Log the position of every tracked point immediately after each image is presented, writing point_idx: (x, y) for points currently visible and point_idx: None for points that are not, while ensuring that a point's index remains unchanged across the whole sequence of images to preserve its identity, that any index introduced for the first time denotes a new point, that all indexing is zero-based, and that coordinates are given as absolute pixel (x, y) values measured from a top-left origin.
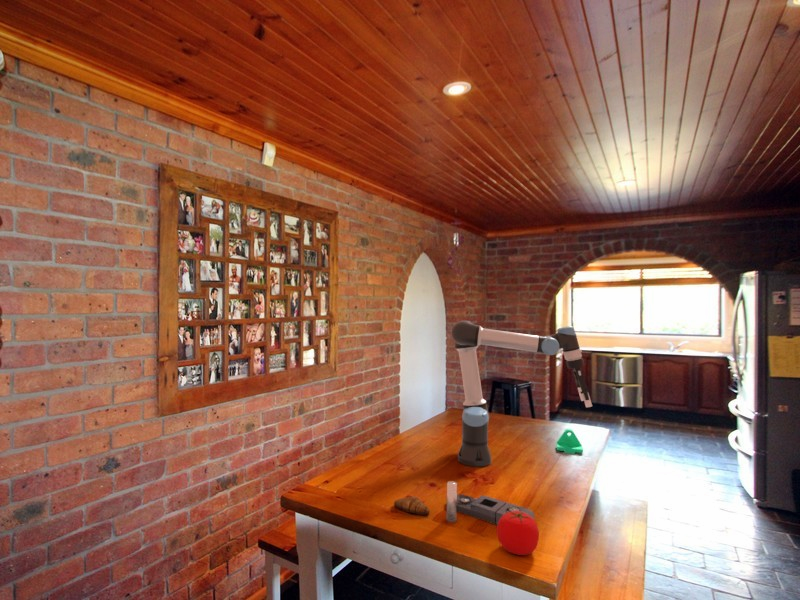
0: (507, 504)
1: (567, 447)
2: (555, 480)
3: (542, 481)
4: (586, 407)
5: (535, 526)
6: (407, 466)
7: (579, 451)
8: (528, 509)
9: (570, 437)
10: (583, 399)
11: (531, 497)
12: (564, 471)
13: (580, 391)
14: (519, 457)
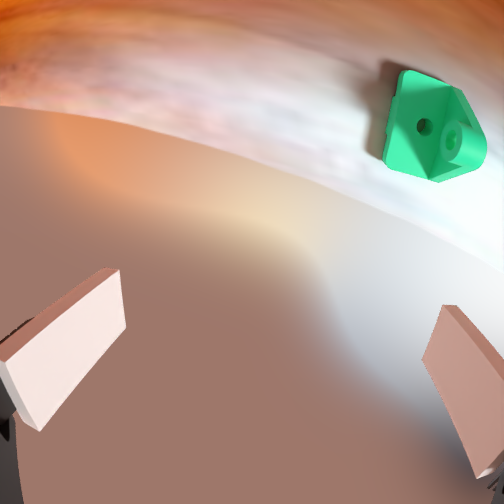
0: None
1: (406, 111)
2: (85, 36)
3: (72, 8)
4: (104, 270)
5: None
6: None
7: (385, 152)
8: None
9: (443, 141)
10: (439, 337)
11: (3, 17)
12: (164, 55)
13: (487, 396)
14: None
